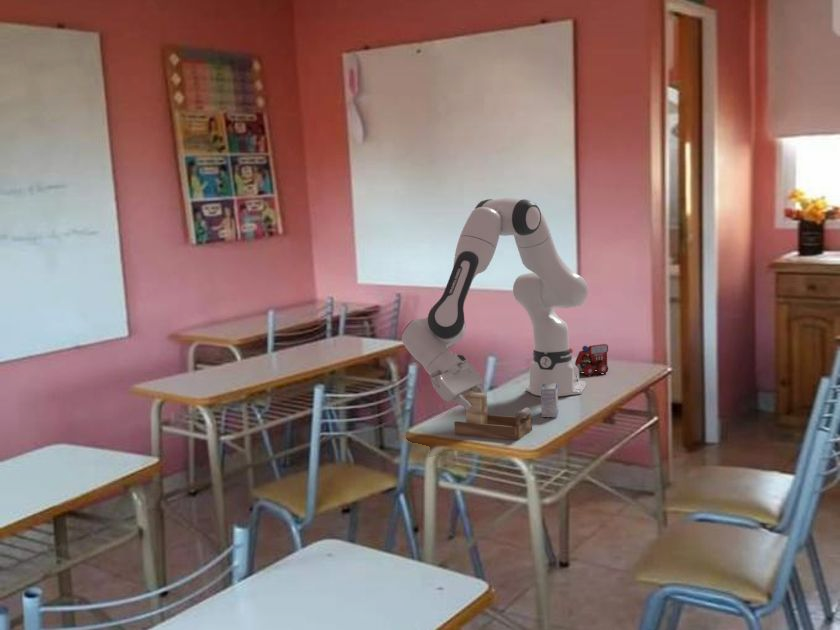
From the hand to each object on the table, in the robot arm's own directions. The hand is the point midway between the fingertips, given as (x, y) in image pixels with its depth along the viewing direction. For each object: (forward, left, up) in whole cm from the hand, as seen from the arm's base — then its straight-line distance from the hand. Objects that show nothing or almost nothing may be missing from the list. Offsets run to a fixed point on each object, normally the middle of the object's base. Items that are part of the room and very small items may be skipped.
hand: (477, 404), depth 255 cm
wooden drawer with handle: (0, +4, -8) cm, 9 cm away
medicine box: (-23, +12, -8) cm, 27 cm away
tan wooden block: (0, -1, -7) cm, 7 cm away
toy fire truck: (-81, +6, -8) cm, 82 cm away
